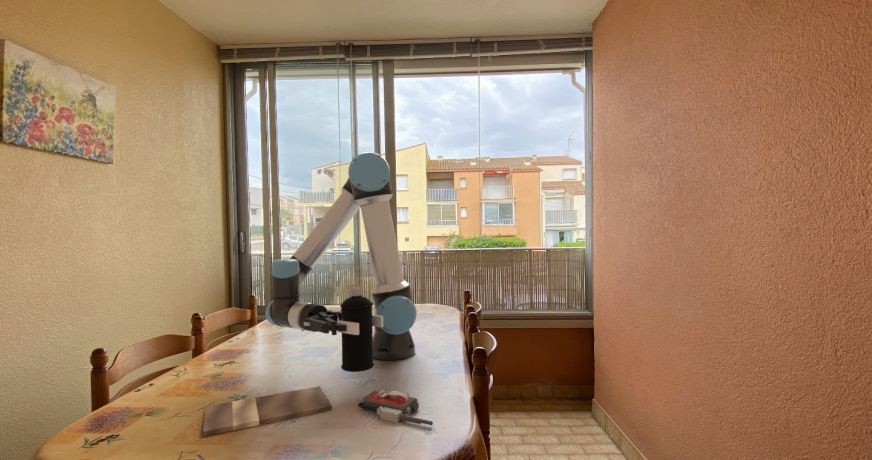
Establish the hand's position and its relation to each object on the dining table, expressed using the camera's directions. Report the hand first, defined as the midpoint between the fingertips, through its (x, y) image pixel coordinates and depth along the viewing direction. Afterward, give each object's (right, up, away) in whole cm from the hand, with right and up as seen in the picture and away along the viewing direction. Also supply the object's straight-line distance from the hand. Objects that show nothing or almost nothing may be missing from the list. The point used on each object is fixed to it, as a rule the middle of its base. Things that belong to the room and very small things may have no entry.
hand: (370, 325), depth 104 cm
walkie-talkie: (+8, -18, -9) cm, 22 cm away
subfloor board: (-22, -18, -7) cm, 30 cm away
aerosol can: (-4, -11, +3) cm, 12 cm away
